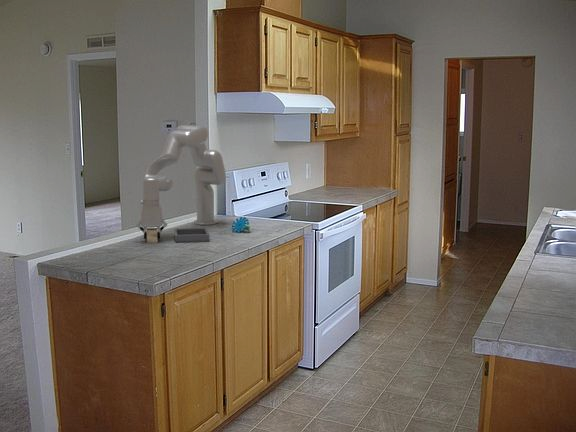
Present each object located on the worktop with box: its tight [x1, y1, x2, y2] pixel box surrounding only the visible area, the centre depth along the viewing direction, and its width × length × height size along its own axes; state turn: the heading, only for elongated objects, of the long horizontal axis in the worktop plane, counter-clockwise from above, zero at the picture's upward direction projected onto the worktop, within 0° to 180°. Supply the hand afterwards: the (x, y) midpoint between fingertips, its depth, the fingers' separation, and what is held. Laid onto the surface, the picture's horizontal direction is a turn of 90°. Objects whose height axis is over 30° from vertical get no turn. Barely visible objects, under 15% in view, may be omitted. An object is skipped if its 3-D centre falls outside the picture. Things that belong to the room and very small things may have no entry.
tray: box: [174, 227, 210, 244], centre depth 307 cm, size 16×16×4 cm
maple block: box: [146, 227, 159, 243], centre depth 300 cm, size 5×5×6 cm
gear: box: [230, 216, 251, 234], centre depth 327 cm, size 11×6×10 cm
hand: (152, 239), depth 301 cm, fingers closed on maple block, 5 cm apart
